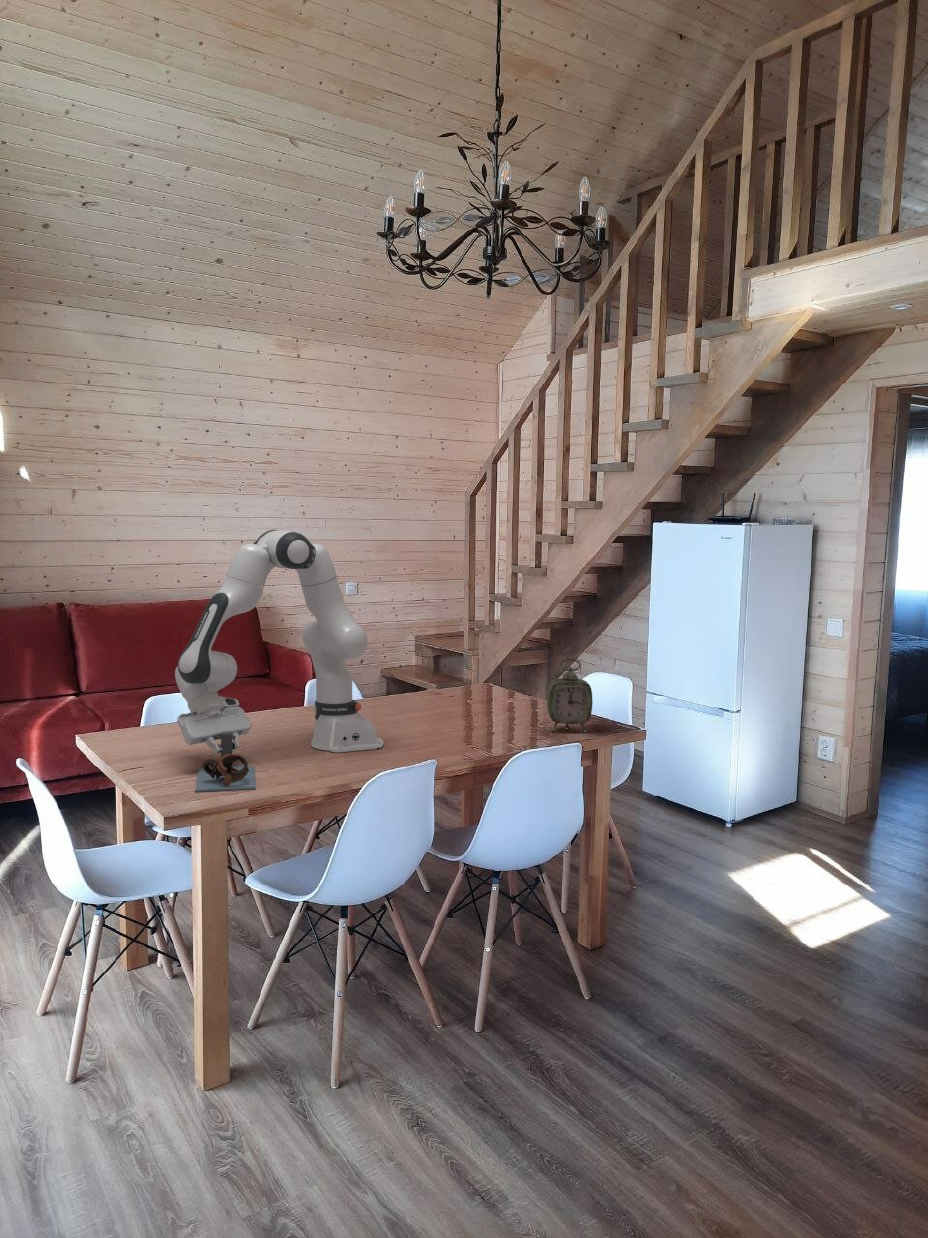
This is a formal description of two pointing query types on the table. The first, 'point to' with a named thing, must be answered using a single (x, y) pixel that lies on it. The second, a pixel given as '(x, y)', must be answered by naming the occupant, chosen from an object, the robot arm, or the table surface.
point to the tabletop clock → (569, 699)
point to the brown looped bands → (226, 768)
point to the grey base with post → (215, 784)
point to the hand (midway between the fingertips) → (228, 750)
